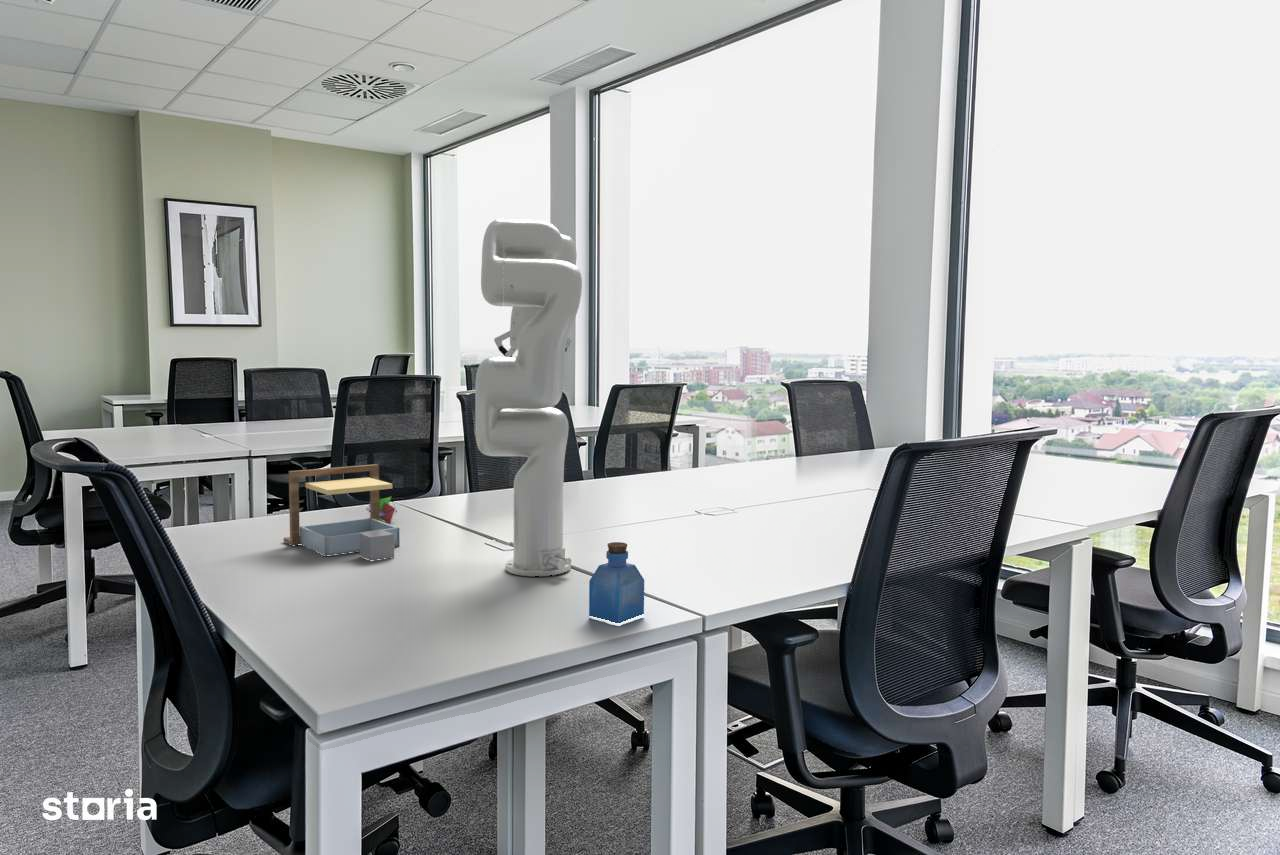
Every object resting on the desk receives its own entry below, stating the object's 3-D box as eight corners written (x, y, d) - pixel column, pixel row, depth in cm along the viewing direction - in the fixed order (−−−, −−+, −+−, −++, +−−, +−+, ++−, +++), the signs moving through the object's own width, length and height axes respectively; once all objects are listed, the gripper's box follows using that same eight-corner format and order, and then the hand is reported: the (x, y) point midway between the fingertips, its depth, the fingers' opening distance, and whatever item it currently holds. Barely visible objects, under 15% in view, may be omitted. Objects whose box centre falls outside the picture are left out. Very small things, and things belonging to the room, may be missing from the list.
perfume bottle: (614, 610, 141) (615, 538, 139) (643, 618, 137) (644, 544, 136) (589, 618, 136) (589, 544, 135) (618, 627, 132) (619, 550, 131)
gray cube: (394, 558, 173) (394, 534, 173) (370, 562, 170) (370, 537, 170) (383, 553, 177) (383, 530, 177) (360, 557, 174) (359, 533, 173)
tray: (399, 546, 184) (399, 527, 183) (325, 557, 173) (325, 537, 173) (371, 535, 194) (371, 517, 194) (300, 545, 183) (299, 526, 183)
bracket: (380, 534, 194) (379, 465, 193) (293, 546, 182) (291, 472, 180) (369, 530, 199) (368, 462, 197) (283, 542, 186) (282, 469, 184)
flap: (392, 488, 182) (392, 483, 182) (327, 494, 173) (327, 490, 173) (368, 481, 191) (368, 477, 191) (305, 487, 182) (305, 482, 182)
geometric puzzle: (408, 513, 209) (392, 486, 210) (390, 518, 202) (373, 490, 204) (389, 529, 211) (373, 502, 213) (371, 534, 205) (354, 506, 206)
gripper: (492, 298, 188) (492, 376, 190) (571, 299, 190) (571, 377, 191) (495, 300, 196) (495, 375, 197) (571, 301, 197) (570, 376, 199)
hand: (532, 375), depth 194 cm, fingers open, 9 cm apart
